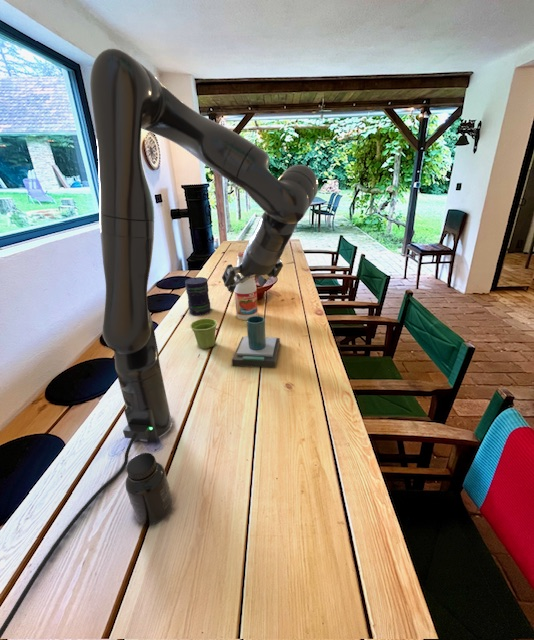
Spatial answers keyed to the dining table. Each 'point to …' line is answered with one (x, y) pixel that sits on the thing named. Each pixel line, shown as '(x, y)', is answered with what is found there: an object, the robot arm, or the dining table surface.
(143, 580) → the dining table surface
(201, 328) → the plant pot
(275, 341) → the scale
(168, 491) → the supplement bottle
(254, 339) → the tumbler
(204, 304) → the storage jar
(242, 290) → the fruit juice
